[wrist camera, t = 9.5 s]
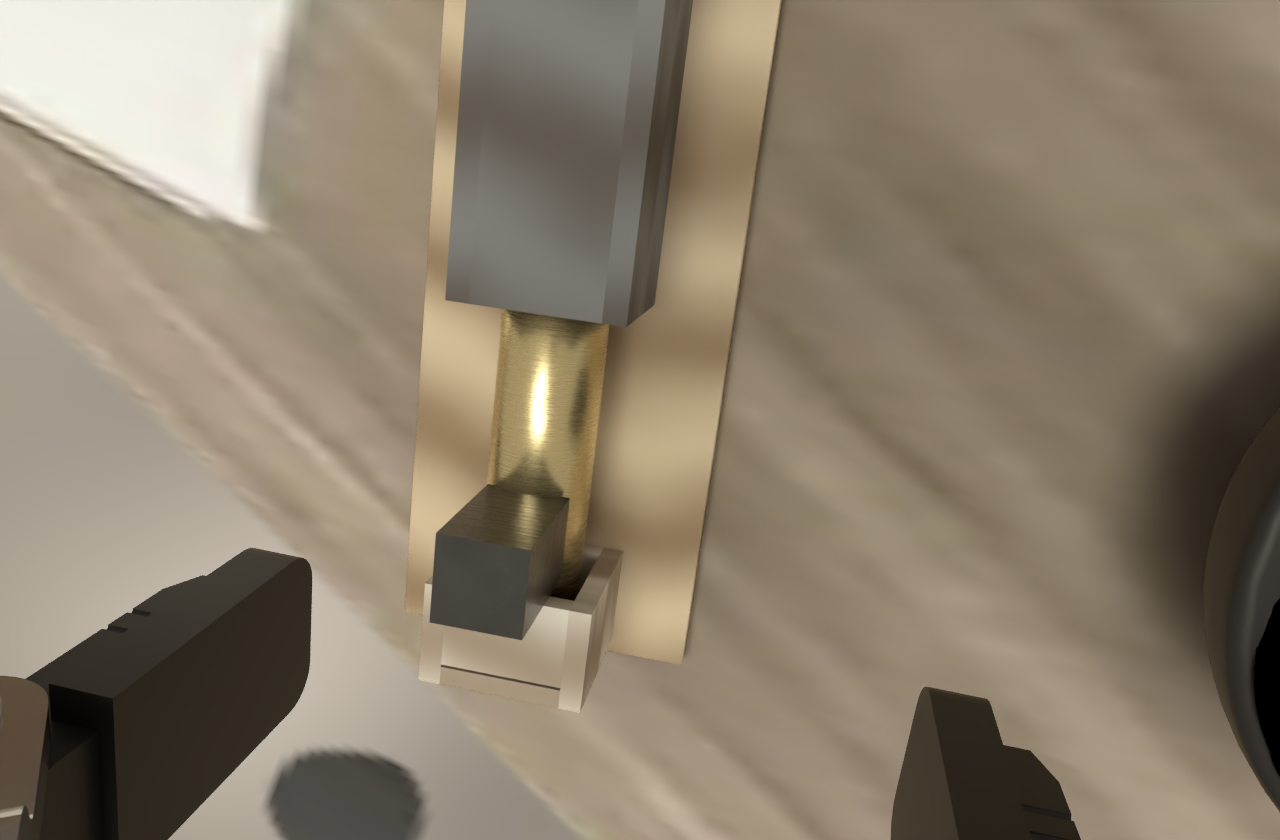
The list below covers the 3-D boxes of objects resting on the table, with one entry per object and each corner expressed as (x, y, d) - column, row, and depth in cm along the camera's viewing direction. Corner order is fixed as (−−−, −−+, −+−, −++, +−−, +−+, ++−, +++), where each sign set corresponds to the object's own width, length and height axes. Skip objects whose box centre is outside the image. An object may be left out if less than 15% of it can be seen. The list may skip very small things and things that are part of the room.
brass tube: (530, 179, 34) (447, 177, 26) (633, 193, 34) (581, 194, 26) (491, 608, 39) (410, 718, 31) (582, 625, 38) (524, 742, 30)
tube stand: (461, -104, 34) (379, -174, 28) (792, -73, 33) (790, -140, 26) (413, 601, 42) (339, 681, 35) (684, 653, 40) (661, 747, 33)
